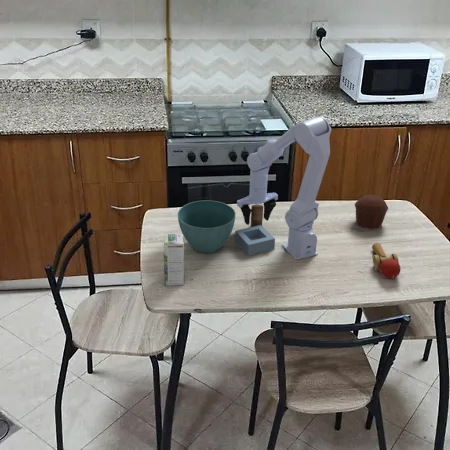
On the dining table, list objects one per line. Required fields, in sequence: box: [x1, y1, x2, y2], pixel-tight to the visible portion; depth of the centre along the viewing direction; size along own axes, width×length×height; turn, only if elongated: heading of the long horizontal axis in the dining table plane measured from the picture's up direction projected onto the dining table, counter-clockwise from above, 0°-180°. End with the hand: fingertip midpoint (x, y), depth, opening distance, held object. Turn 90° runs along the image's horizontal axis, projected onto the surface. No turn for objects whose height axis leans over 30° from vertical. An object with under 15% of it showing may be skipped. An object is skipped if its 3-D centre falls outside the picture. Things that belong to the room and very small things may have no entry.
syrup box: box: [163, 233, 185, 287], centre depth 168 cm, size 6×6×14 cm
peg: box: [250, 204, 264, 227], centre depth 198 cm, size 4×4×8 cm
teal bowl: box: [177, 199, 236, 254], centre depth 185 cm, size 18×18×12 cm
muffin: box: [354, 194, 389, 230], centre depth 201 cm, size 12×11×10 cm
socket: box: [234, 225, 276, 256], centre depth 188 cm, size 10×10×4 cm
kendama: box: [371, 242, 401, 280], centre depth 179 cm, size 8×6×18 cm
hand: (256, 221), depth 198 cm, fingers open, 7 cm apart
